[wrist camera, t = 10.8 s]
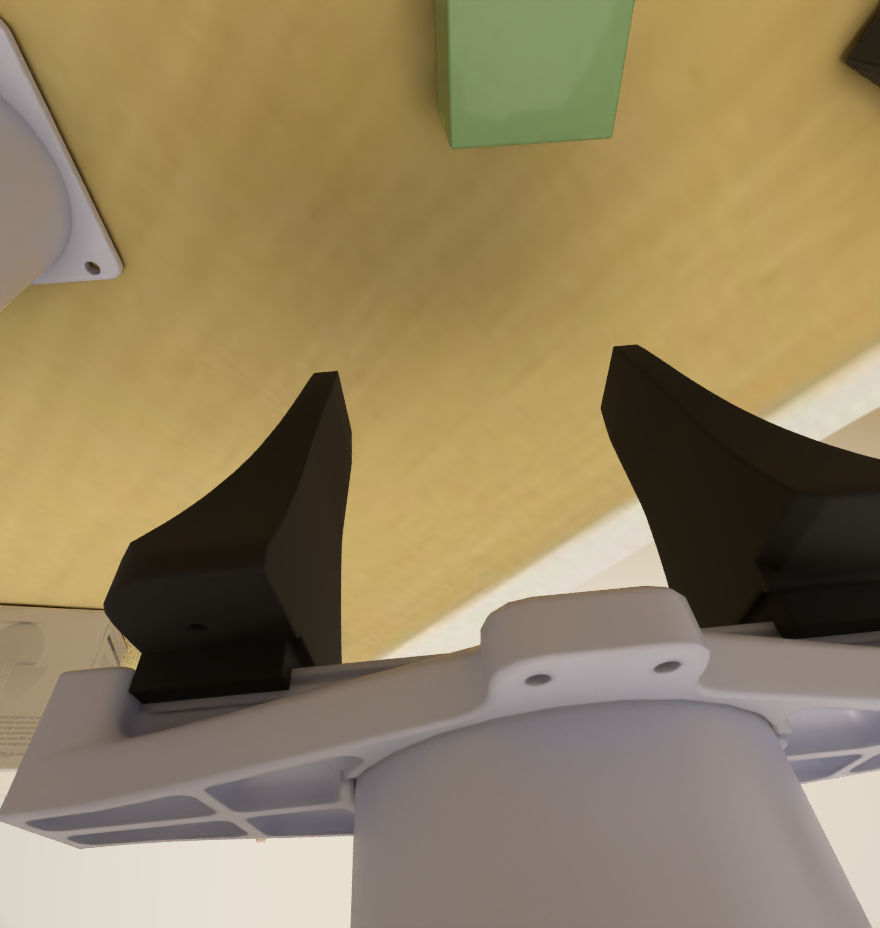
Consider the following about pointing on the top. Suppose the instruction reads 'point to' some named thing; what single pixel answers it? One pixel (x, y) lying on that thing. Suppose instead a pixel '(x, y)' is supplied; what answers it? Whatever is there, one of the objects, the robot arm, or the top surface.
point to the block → (529, 69)
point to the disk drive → (868, 53)
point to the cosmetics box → (44, 667)
